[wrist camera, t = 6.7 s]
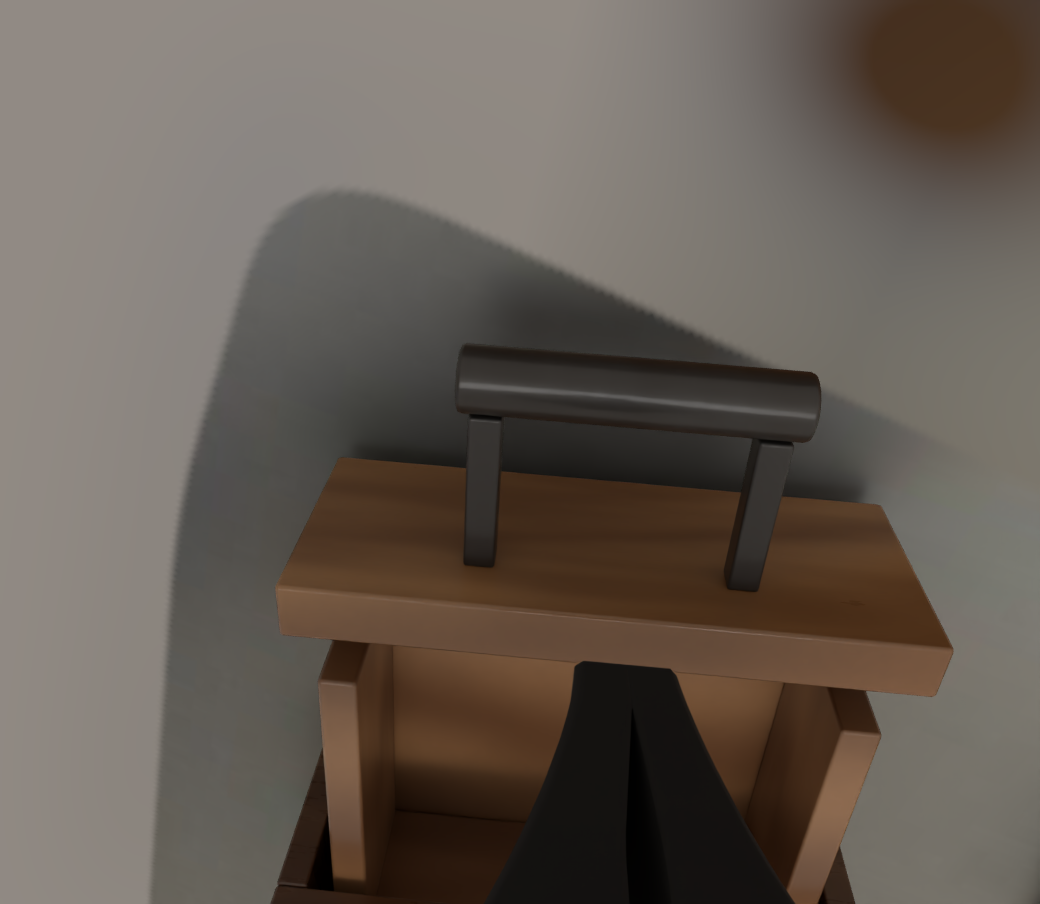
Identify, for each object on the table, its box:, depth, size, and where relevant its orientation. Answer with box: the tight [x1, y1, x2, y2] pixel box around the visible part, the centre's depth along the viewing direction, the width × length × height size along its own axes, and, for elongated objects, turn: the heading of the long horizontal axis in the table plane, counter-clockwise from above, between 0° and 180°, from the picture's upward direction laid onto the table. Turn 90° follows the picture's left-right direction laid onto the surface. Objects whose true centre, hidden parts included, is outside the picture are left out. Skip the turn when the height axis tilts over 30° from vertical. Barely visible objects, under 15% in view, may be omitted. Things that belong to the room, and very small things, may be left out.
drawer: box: [275, 343, 953, 904], centre depth 20 cm, size 16×12×5 cm
